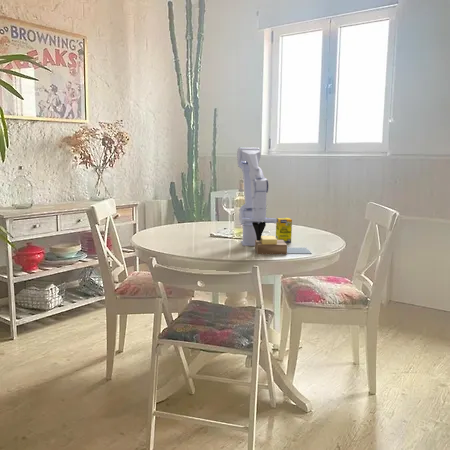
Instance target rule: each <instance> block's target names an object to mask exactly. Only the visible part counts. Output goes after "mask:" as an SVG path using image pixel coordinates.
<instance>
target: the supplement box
mask: <svg viewBox="0 0 450 450" xmlns="http://www.w3.org/2000/svg"><path fill="white" fill-rule="evenodd" d="M275 218H276V219H277V223H275V238H276V239H277V240H283V241H284V242H285V243H286V244H287V243H288V244H289V243H292V235H293V234H292V230H293V219H292V218H290V217H275Z"/></svg>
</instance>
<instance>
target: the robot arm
mask: <svg viewBox="0 0 450 450" xmlns="http://www.w3.org/2000/svg"><path fill="white" fill-rule="evenodd" d="M236 152H237V153H236V157H237V159H236V160H237V167H239V169H241V173H242V180H243V192H244V204H242V205H241V206H240V208H239V215H238V218H239V223H240V224H241V225H242V240H240V244H241V246H243V247H245V246H248V247H251V246H252V247H253V246H254V247H255V240H257V241H261V236H263V235H262V234H263V233H264V230H265V228H266V226H267V224H276V223H277V219H276V218H277V217H273V218H272V217H267V193H268V192H269V189H270V188H269V180H268V178H266V177H265V175H264V172H263V169H262V168H261V167H259V166H260V165H259V163H260V160H261V148H259V147H258V146H257V147H241V146H240V147H238V148H237V150H236Z"/></svg>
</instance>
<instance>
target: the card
mask: <svg viewBox="0 0 450 450" xmlns="http://www.w3.org/2000/svg"><path fill="white" fill-rule="evenodd" d="M261 243H262V244H277V239H276V235H261Z"/></svg>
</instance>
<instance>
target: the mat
mask: <svg viewBox="0 0 450 450" xmlns="http://www.w3.org/2000/svg"><path fill="white" fill-rule="evenodd" d="M287 254H288V255H312V252H311V250H309V249H308V248H307V247H287ZM287 254H286V255H287Z"/></svg>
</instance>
